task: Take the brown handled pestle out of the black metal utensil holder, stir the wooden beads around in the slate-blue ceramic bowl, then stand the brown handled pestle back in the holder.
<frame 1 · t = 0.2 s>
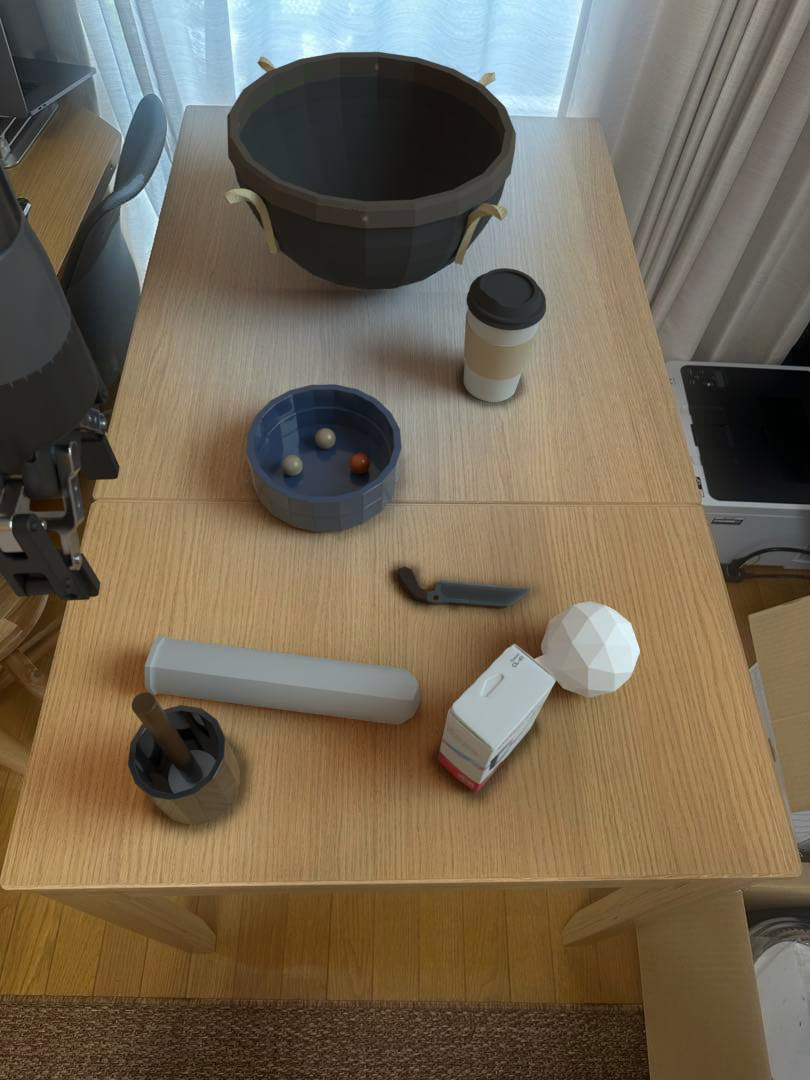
hand: (93, 531, 45), 29 cm above the table, tool pointing down, fingers open, 8 cm apart
light bulb: (563, 667, 74), on the table
tube: (289, 691, 71), on the table
bead c: (292, 465, 83), point 2 cm above the table, touching mixing bowl
brown handled pestle: (196, 779, 65), point 1 cm above the table, touching holder
bead b: (325, 438, 86), point 2 cm above the table, touching mixing bowl
ink box: (483, 742, 69), on the table
holder: (198, 781, 66), on the table
mixing bowl: (326, 474, 85), on the table
coffee cup: (489, 383, 94), on the table
bowl: (370, 263, 106), on the table
knife: (463, 591, 78), on the table
bead a: (359, 463, 84), point 2 cm above the table, touching mixing bowl
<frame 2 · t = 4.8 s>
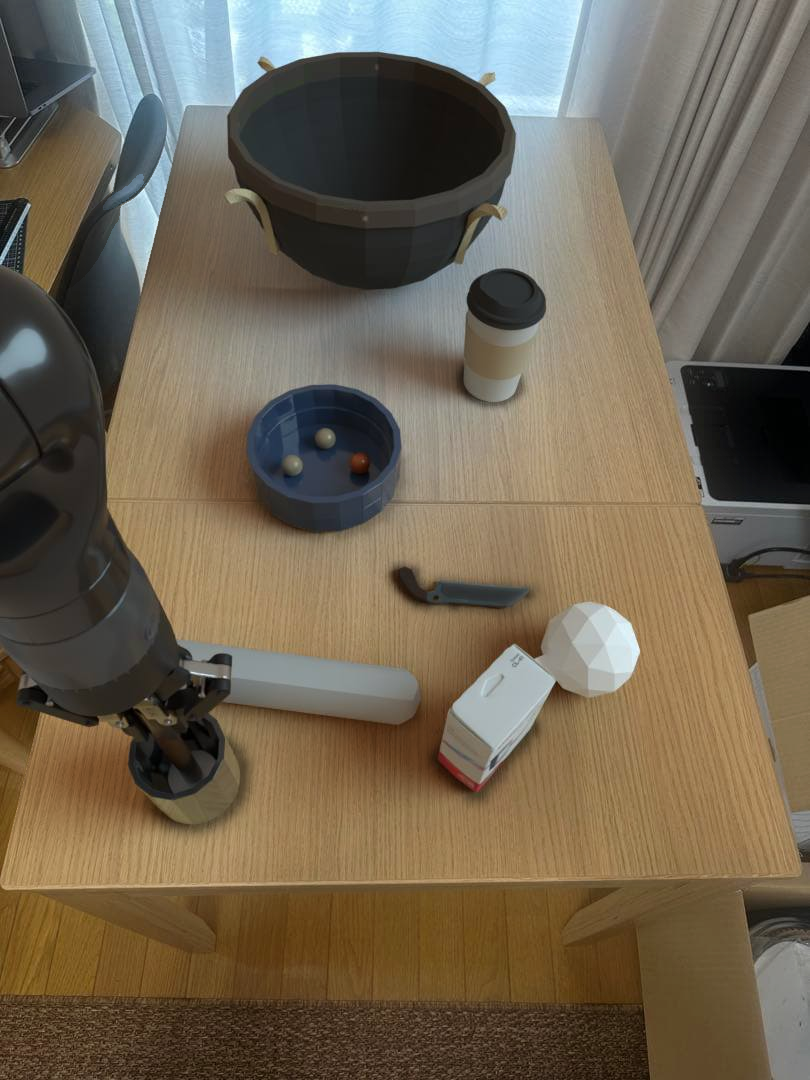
hand: (160, 727, 54), 15 cm above the table, tool pointing down, fingers closed on brown handled pestle
brown handled pestle: (196, 779, 65), point 1 cm above the table, touching gripper, holder
everything else where it was.
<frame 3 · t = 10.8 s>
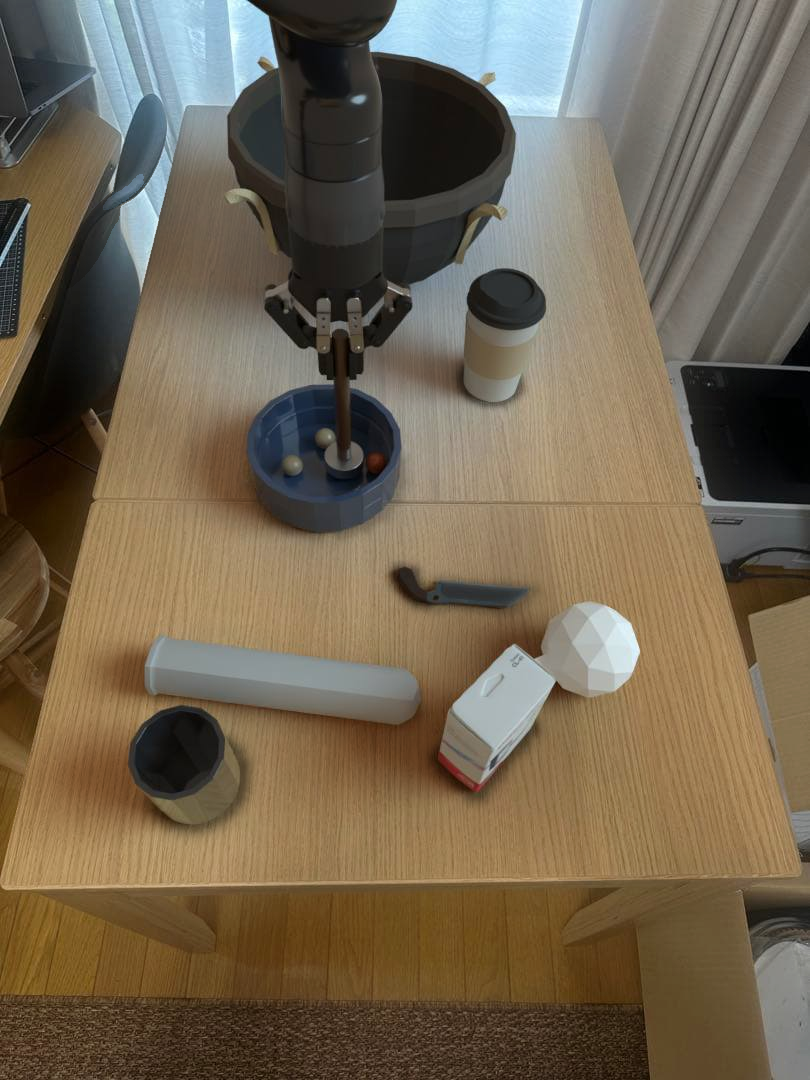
hand: (341, 373, 72), 16 cm above the table, tool pointing down, fingers closed on brown handled pestle
brown handled pestle: (344, 463, 84), point 2 cm above the table, touching gripper
bead a: (376, 463, 84), point 2 cm above the table, tilted 89°, touching mixing bowl
everything else where it was.
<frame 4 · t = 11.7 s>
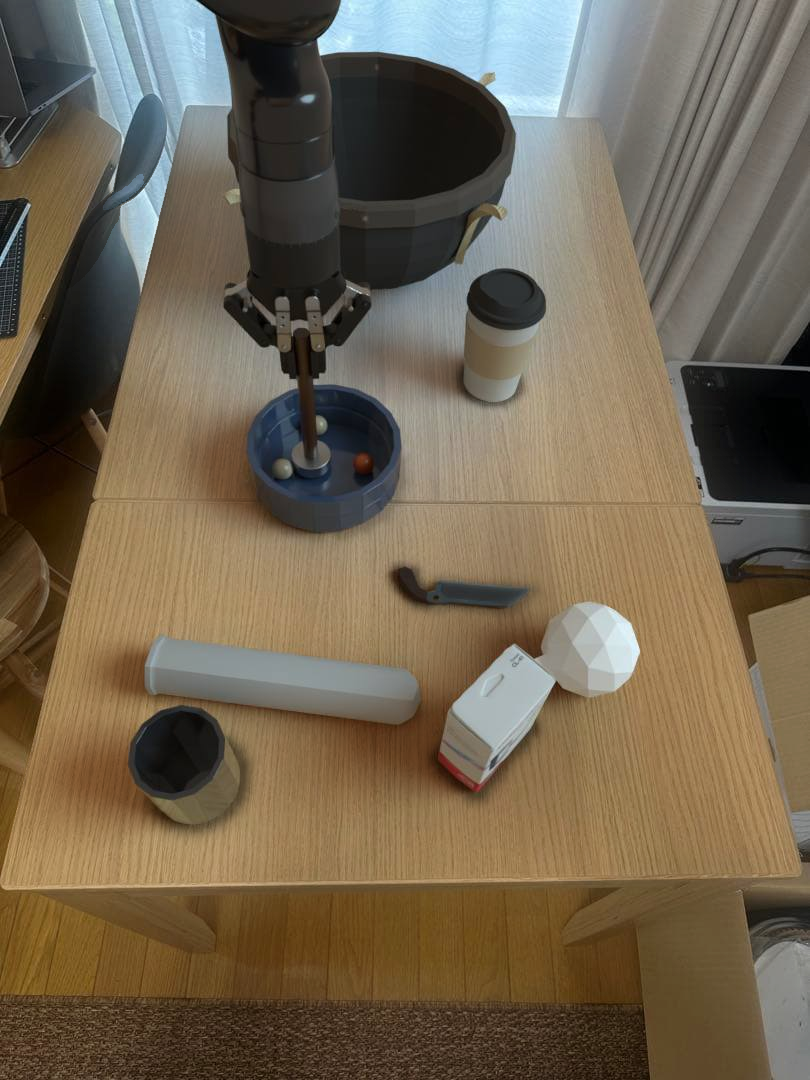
hand: (304, 372, 72), 15 cm above the table, tool pointing down, fingers closed on brown handled pestle
bead c: (282, 469, 83), point 2 cm above the table, tilted 56°, touching mixing bowl
brown handled pestle: (311, 462, 84), point 1 cm above the table, touching gripper
bead b: (317, 425, 87), point 2 cm above the table, tilted 106°, touching mixing bowl
bead a: (363, 463, 84), point 2 cm above the table, tilted 21°, touching mixing bowl
everything else where it was.
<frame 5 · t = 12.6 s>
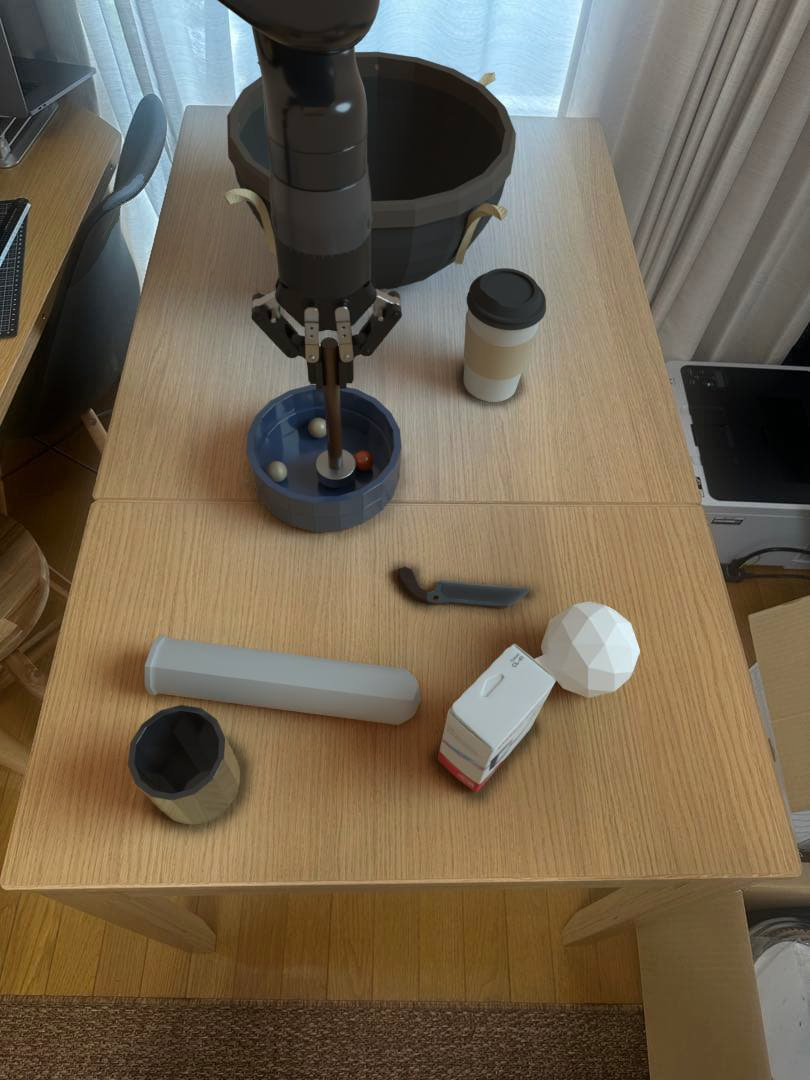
hand: (331, 382, 71), 16 cm above the table, tool pointing down, fingers closed on brown handled pestle
bead c: (276, 471, 83), point 2 cm above the table, tilted 91°, touching mixing bowl
brown handled pestle: (336, 472, 83), point 2 cm above the table, touching gripper
bead b: (318, 428, 86), point 2 cm above the table, tilted 86°, touching mixing bowl
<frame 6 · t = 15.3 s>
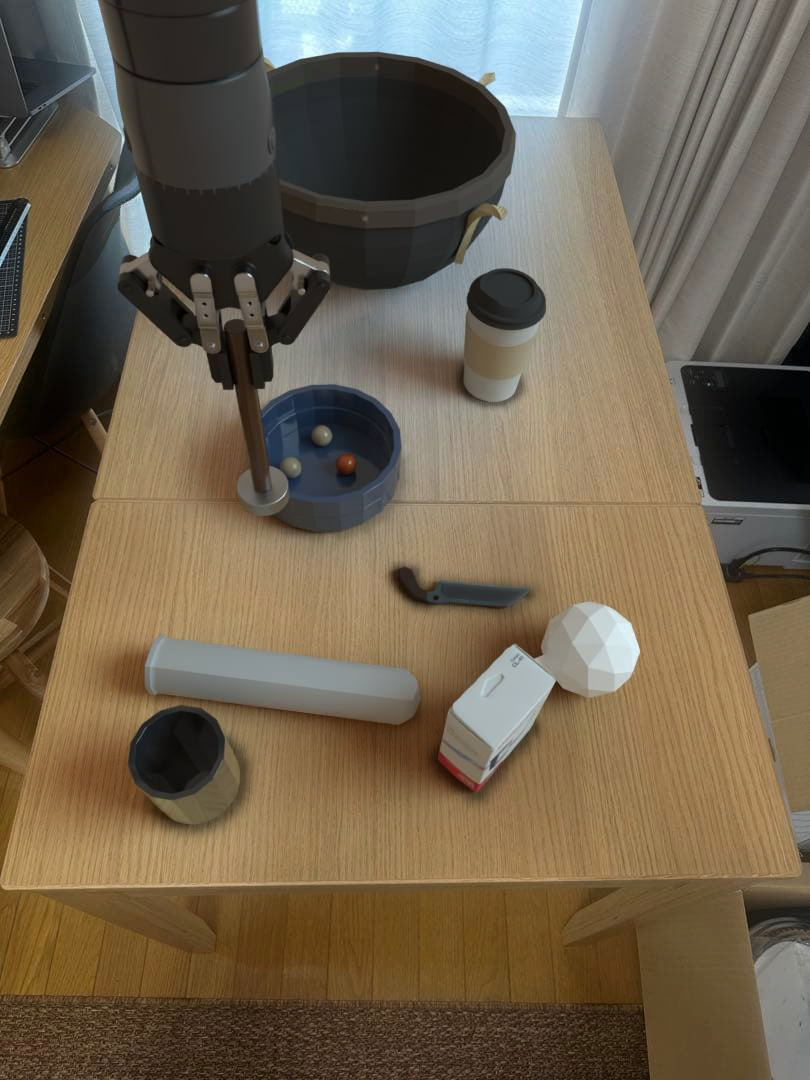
hand: (244, 380, 53), 29 cm above the table, tool pointing down, fingers closed on brown handled pestle
bead c: (290, 467, 83), point 2 cm above the table, tilted 14°, touching mixing bowl
brown handled pestle: (264, 495, 65), point 15 cm above the table, touching gripper
bead b: (321, 435, 86), point 2 cm above the table, tilted 26°, touching mixing bowl
bead a: (345, 464, 84), point 2 cm above the table, tilted 71°, touching mixing bowl
everything else where it was.
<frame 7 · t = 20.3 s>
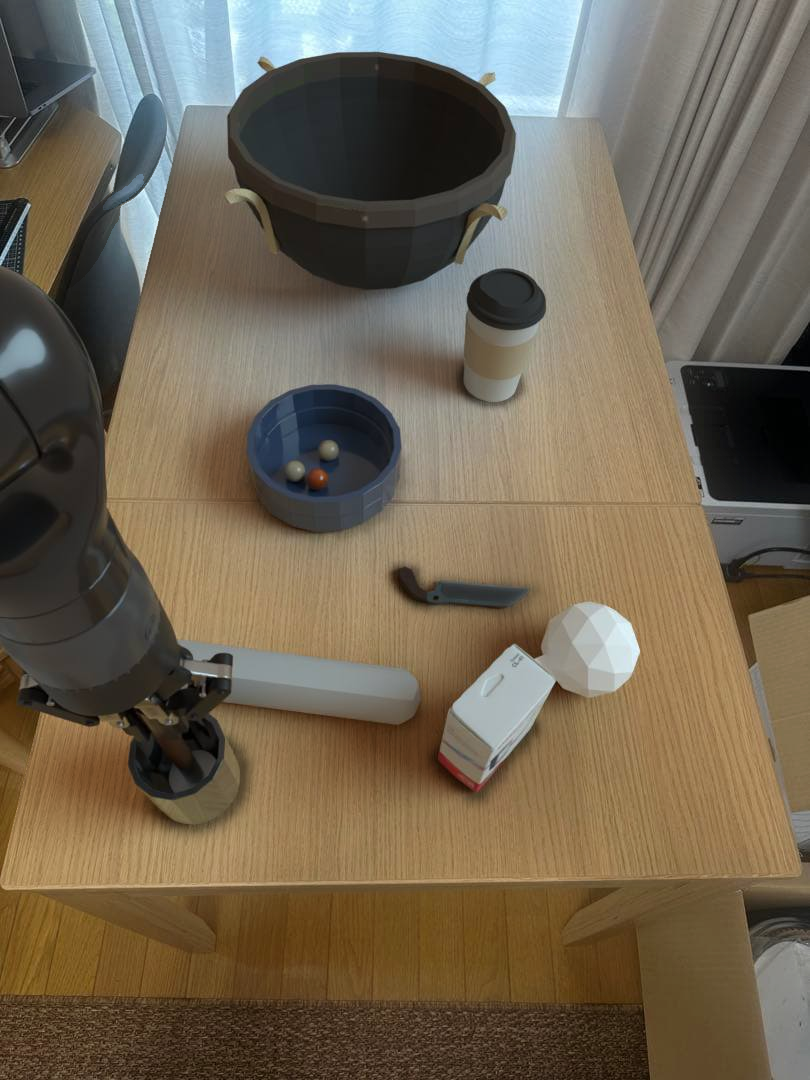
hand: (161, 727, 54), 15 cm above the table, tool pointing down, fingers closed on brown handled pestle
bead c: (294, 471, 83), point 2 cm above the table, tilted 33°, touching mixing bowl
brown handled pestle: (197, 779, 65), point 1 cm above the table, touching gripper, holder
bead b: (328, 450, 85), point 2 cm above the table, tilted 86°, touching mixing bowl
bead a: (317, 479, 82), point 2 cm above the table, tilted 92°, touching mixing bowl
everything else where it was.
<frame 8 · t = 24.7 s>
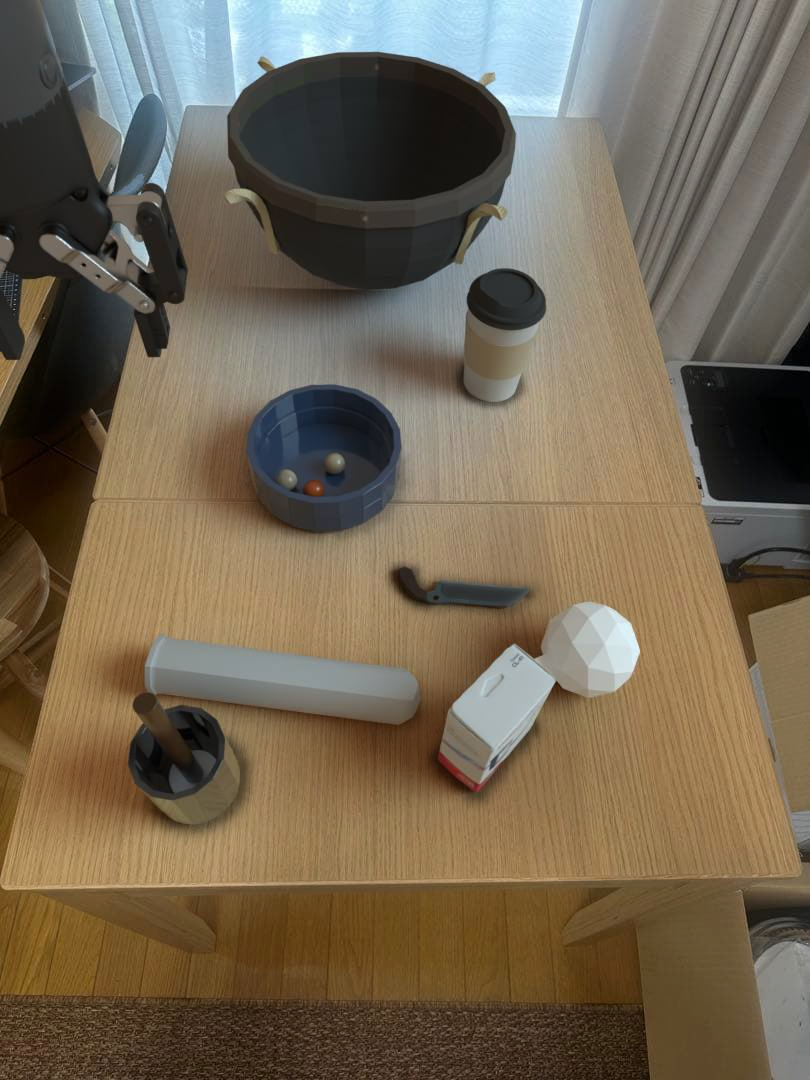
hand: (86, 349, 47), 34 cm above the table, tool pointing down, fingers open, 8 cm apart
bead c: (286, 480, 82), point 2 cm above the table, tilted 93°, touching mixing bowl
brown handled pestle: (197, 779, 65), point 1 cm above the table, touching holder
bead b: (334, 463, 84), point 2 cm above the table, tilted 173°, touching mixing bowl
bead a: (313, 490, 81), point 2 cm above the table, tilted 27°, touching mixing bowl
everything else where it was.
at the end: bead a moved 6.4 cm from its start; bead a inside the target area in the mixing bowl (4.0 cm from its centre), point 1.8 cm above the mixing bowl's base; brown handled pestle 0.1 cm off-centre in the holder, point 0.6 cm above the holder's base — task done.
